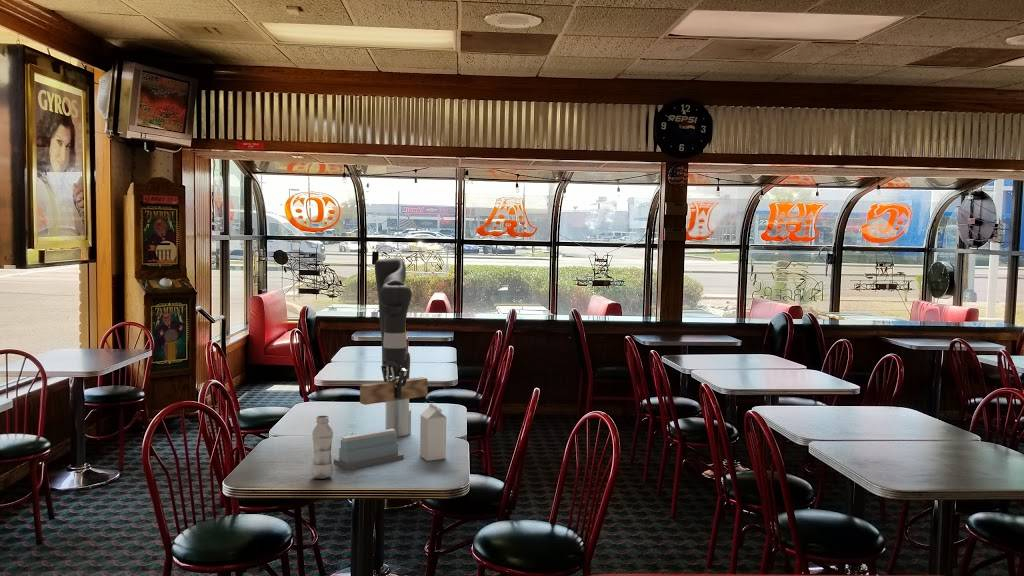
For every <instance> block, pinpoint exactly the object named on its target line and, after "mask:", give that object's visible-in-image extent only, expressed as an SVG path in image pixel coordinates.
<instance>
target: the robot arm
mask: <svg viewBox="0 0 1024 576" xmlns="http://www.w3.org/2000/svg"><path fill="white" fill-rule="evenodd" d="M404 261H405V260H404V259H402V258H400V257H398V258H397V257H393V258H379V259H377V260H376V261H375V263H374V275H375V283H376V290H377V295H378V296H377V297H378V317H379V327H380V335H381V366H380V367H381V368H380V370H381V373H382V377H383V382H387V381H394V387H395V388H394V398H395V399H399V398H401V387H402V386H405V385H406V381H407V379H410V373H411V355H410V352H409V351H407V333H406V329H407V315H408V310H409V307H410V304H411V301H412V295H413V294H412V290H411V289H410V287H409V286H408V285H405V281H406V278H407V271H406V264H405V262H404ZM397 380H398V383H397ZM402 380H403V382H402ZM387 429H394V430H396V434H397V438H399V437H400V438H401V437H406V436H408V435H410V434H412V410H411V409H410V399H403V400H396V401H389V402H385V429H384V430H387Z"/></svg>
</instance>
